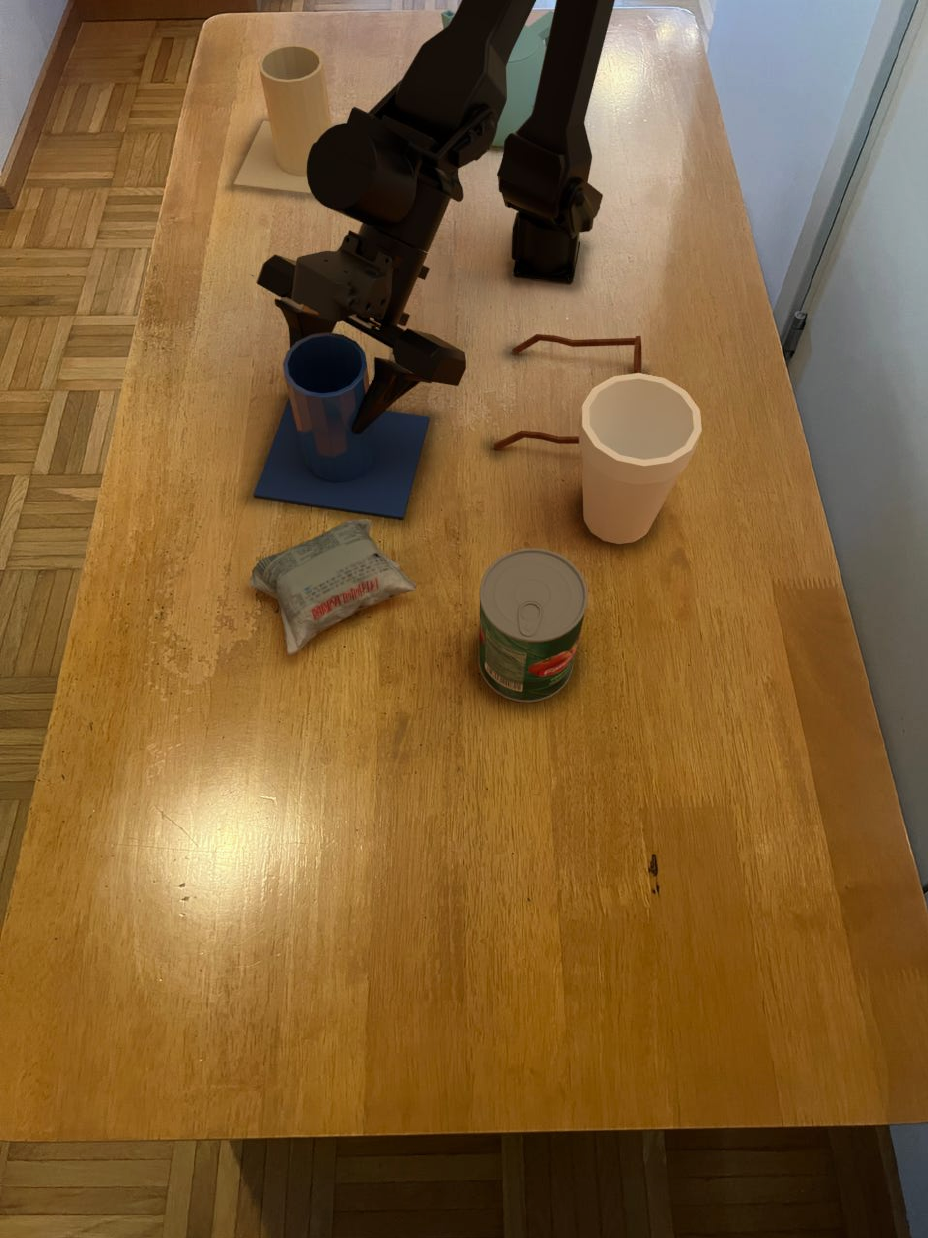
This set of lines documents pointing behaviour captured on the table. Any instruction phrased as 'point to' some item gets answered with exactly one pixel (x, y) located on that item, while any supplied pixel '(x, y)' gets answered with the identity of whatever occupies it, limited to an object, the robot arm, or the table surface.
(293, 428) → the blue mat
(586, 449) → the foam cup
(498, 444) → the glasses
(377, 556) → the packaged food
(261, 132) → the cream mat
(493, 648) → the canned tomato
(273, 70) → the cream cup
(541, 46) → the teapot
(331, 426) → the blue cup
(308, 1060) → the table surface
